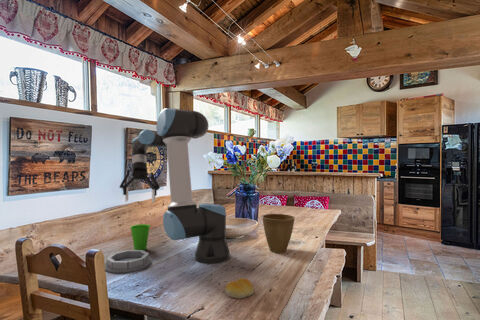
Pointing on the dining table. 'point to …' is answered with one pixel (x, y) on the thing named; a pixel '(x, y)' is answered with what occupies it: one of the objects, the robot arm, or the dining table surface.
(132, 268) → the ring
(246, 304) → the dining table surface
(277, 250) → the plant pot
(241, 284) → the bread roll
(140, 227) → the cup
